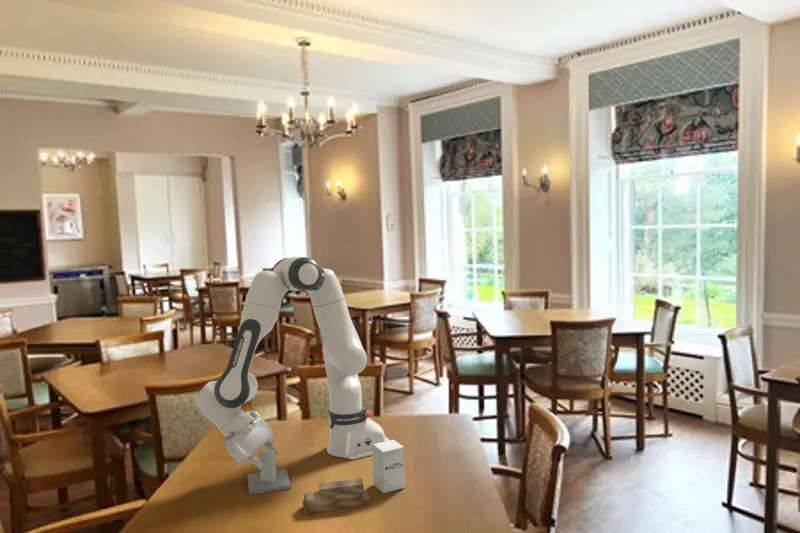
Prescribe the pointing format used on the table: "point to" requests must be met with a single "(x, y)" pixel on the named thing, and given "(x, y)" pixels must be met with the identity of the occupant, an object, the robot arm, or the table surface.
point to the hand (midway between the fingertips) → (269, 459)
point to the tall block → (268, 465)
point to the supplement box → (388, 466)
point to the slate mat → (264, 486)
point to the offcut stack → (335, 496)
